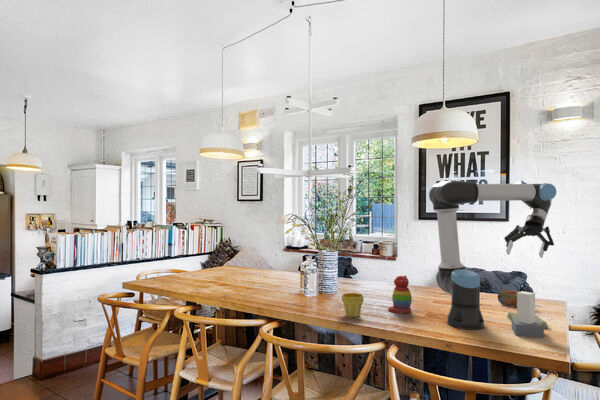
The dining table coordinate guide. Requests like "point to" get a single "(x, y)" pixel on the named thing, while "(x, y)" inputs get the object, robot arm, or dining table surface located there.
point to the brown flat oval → (508, 298)
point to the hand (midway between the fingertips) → (523, 254)
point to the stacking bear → (401, 296)
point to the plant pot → (352, 303)
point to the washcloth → (514, 315)
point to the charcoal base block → (528, 329)
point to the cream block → (526, 307)
